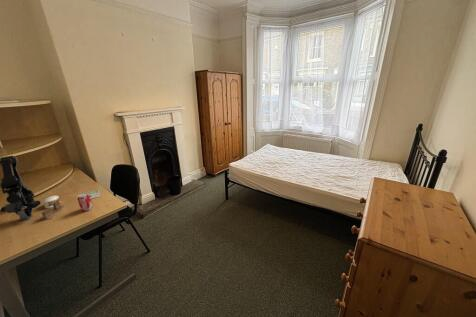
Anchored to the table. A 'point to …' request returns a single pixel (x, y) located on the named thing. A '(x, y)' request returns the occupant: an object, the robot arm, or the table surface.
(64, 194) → the table surface
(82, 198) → the soda can
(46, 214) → the notched board
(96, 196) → the handheld gaming console
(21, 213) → the gray rectangular block
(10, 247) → the table surface
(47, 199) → the bobbin
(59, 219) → the table surface
